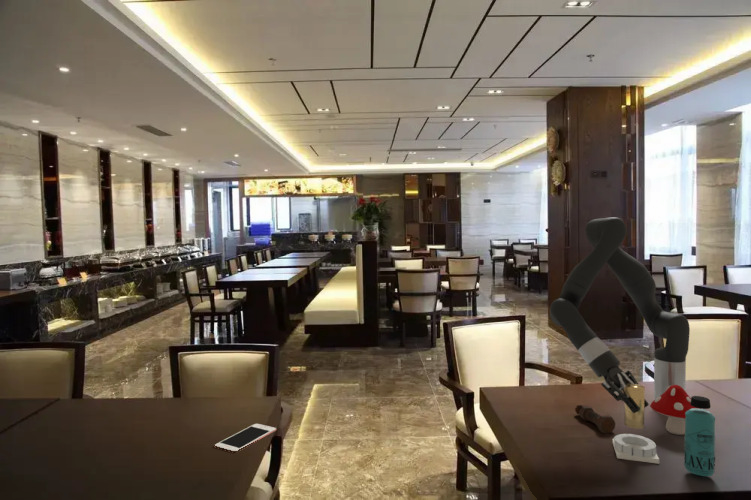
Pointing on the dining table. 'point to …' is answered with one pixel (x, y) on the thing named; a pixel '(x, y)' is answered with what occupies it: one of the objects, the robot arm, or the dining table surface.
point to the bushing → (638, 396)
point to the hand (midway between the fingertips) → (641, 408)
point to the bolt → (596, 418)
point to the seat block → (635, 448)
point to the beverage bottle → (699, 438)
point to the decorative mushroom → (673, 408)
